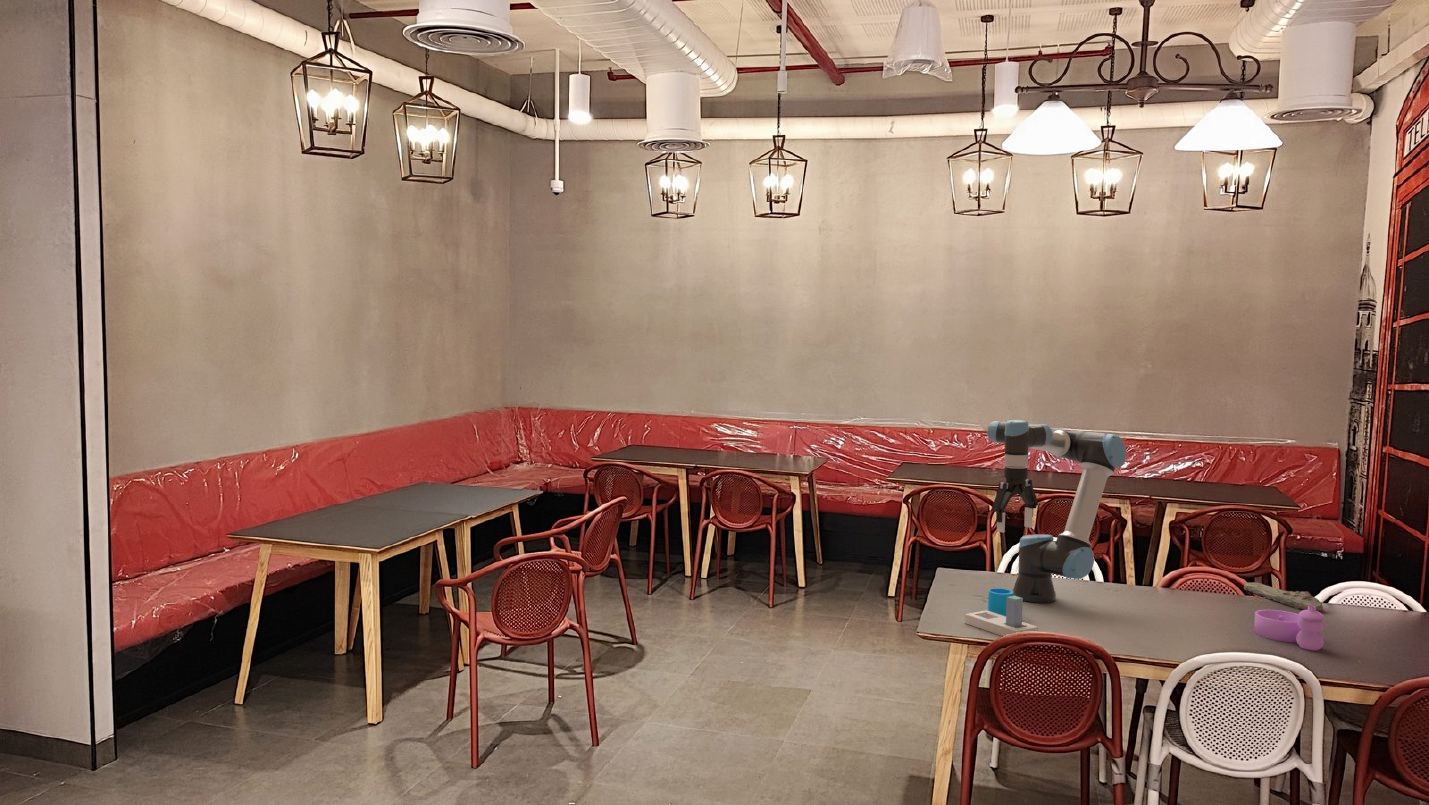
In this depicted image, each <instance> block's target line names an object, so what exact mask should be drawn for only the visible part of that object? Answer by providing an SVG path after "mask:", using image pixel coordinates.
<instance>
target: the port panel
mask: <svg viewBox="0 0 1429 805" xmlns="http://www.w3.org/2000/svg"><path fill="white" fill-rule="evenodd" d="M964 624H967V625H970V626H973V627H975V628H979V629H980V630H983V631H987V632H989V633H992V634H995V635H999V636H1000V637H1001V636H1002V637H1004V636H1003V635H1006V634H1012V633H1016V632H1023V631H1038V632H1039V626H1038V625H1033V624H1030V623H1027V622H1024V621H1022V626H1020V627H1015V628H1014V627H1011V626H1008V625H1006V616H1003V615H1000V614H997V613H993V612H990V611H988V609H985V610H980V611H974V612H969V613H965V614H964Z"/></svg>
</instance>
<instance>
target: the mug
mask: <svg viewBox="0 0 1429 805" xmlns="http://www.w3.org/2000/svg"><path fill="white" fill-rule="evenodd" d="M987 596H988V598H987V611H990V612H993V613H997V614H1000V615H1003V616H1006V605H1007V597H1010V596H1013V590H1011V589H1006V588H998V587H997V588H995V587H994V588H989V589H988V592H987Z"/></svg>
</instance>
